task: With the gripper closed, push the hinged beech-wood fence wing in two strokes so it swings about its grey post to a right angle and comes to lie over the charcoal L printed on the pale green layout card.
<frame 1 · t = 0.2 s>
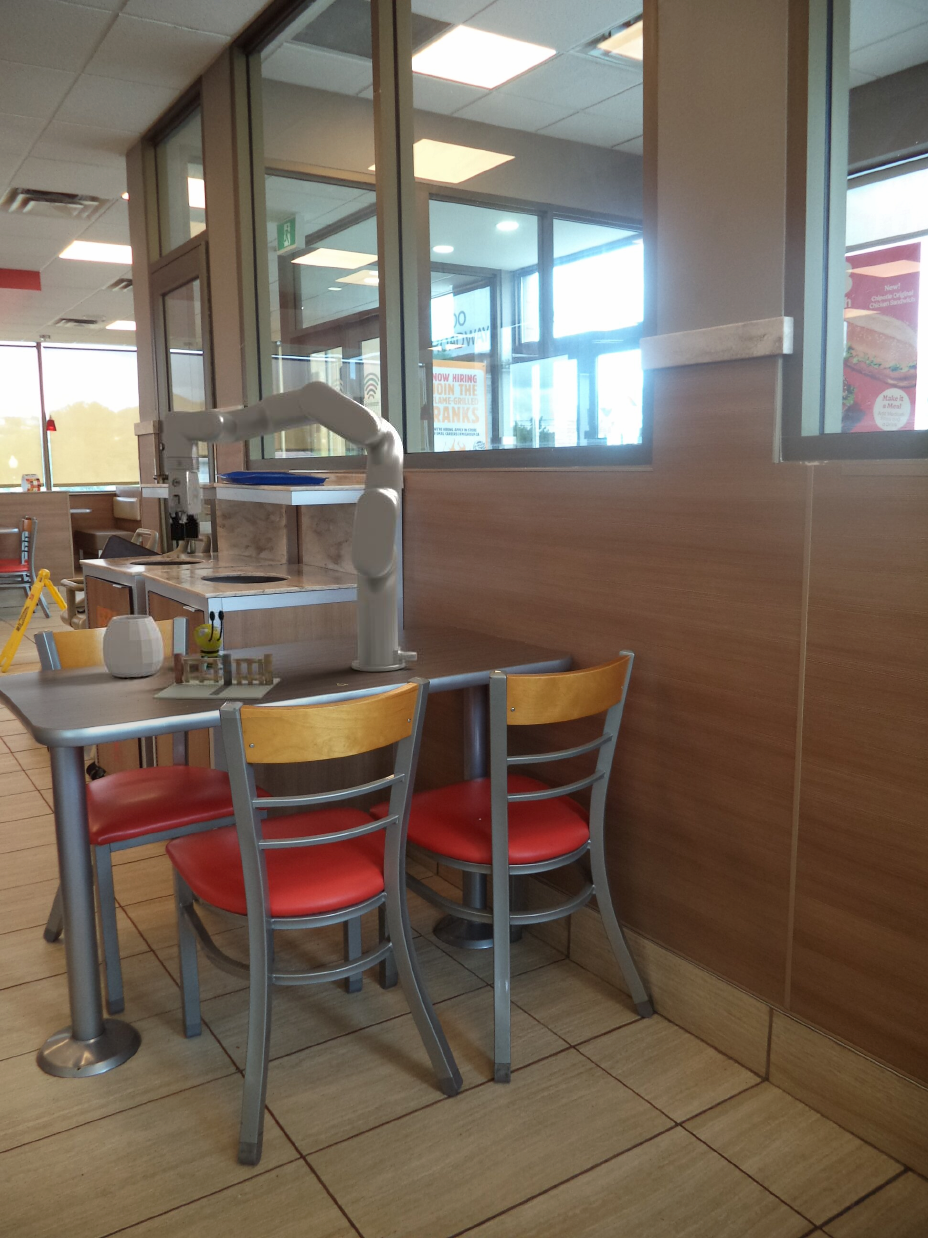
hand: (185, 539, 226), 31 cm above the table, fingers open, 9 cm apart
fence fixed: (228, 686, 209), resting on layout card
toy: (212, 668, 231), on the table
fence wing: (198, 668, 209), point 4 cm above the table, hinge at 0.0°
layout card: (219, 689, 206), on the table
white faceted vase: (134, 676, 222), on the table
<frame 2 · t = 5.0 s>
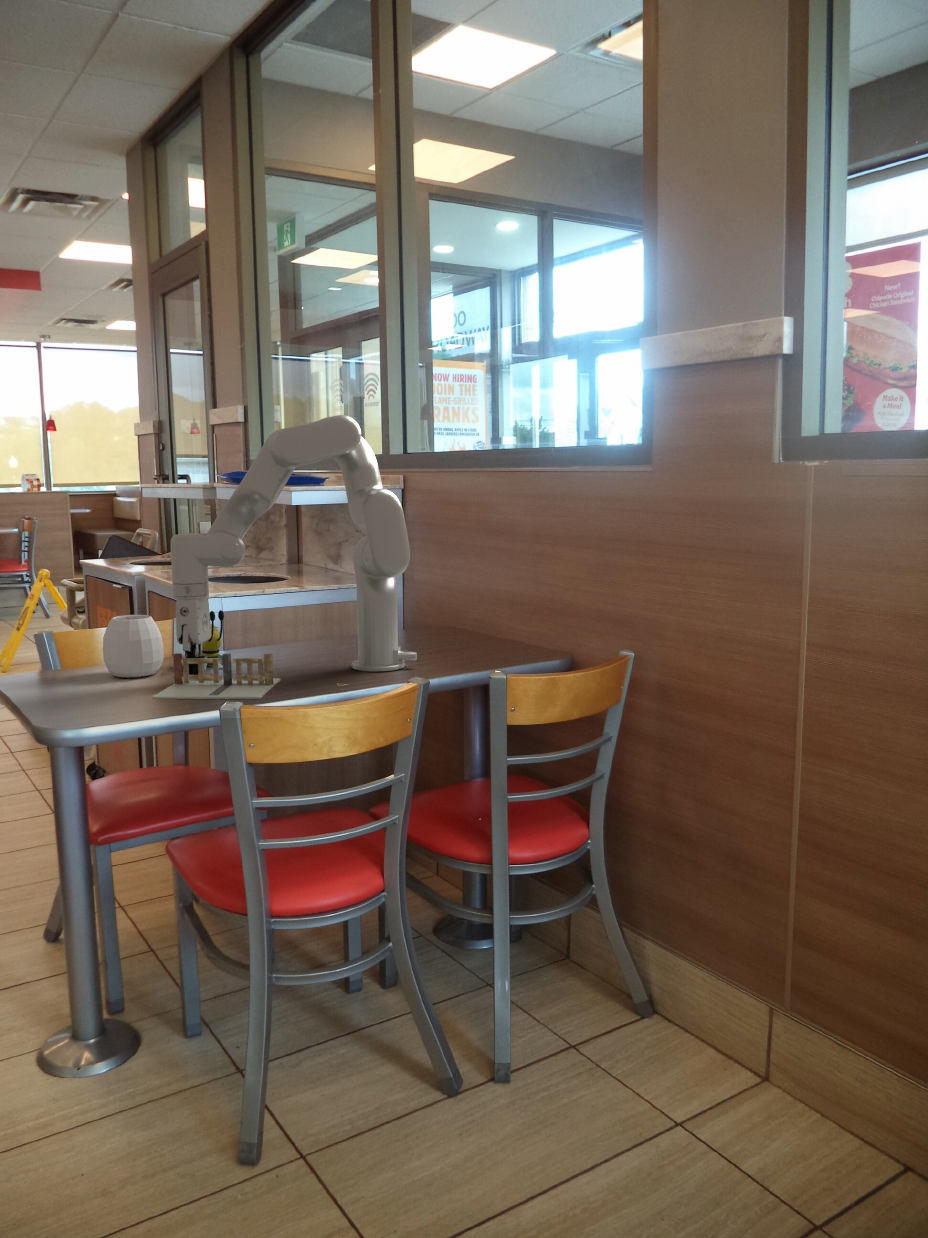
hand: (194, 674, 212), 2 cm above the table, fingers closed
fence wing: (197, 668, 209), point 4 cm above the table, hinge at 2.4°, touching gripper
everything else where it was.
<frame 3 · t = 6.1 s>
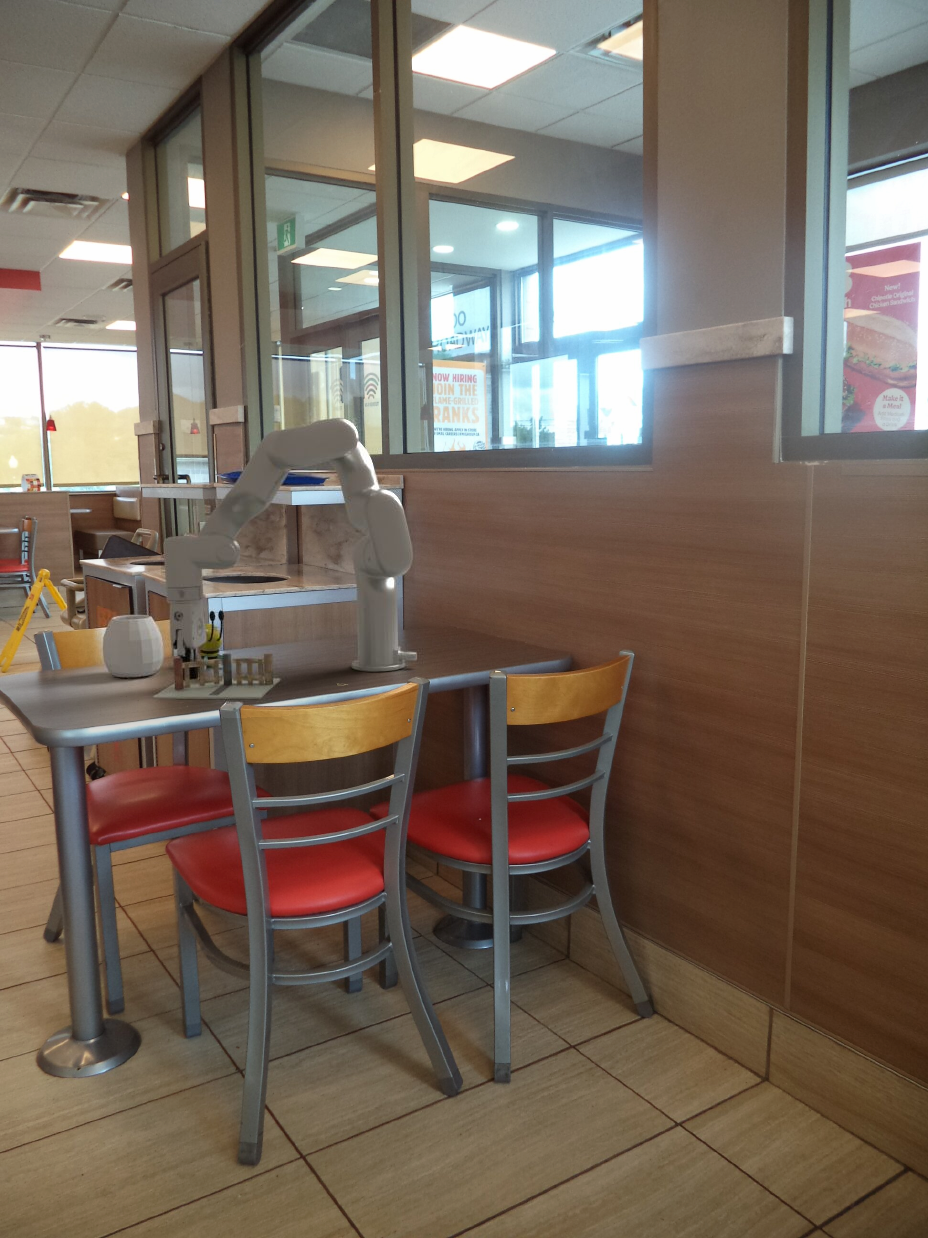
hand: (189, 679, 207), 2 cm above the table, fingers closed
fence wing: (198, 671, 205), point 4 cm above the table, hinge at 35.6°, touching gripper
everything else where it was.
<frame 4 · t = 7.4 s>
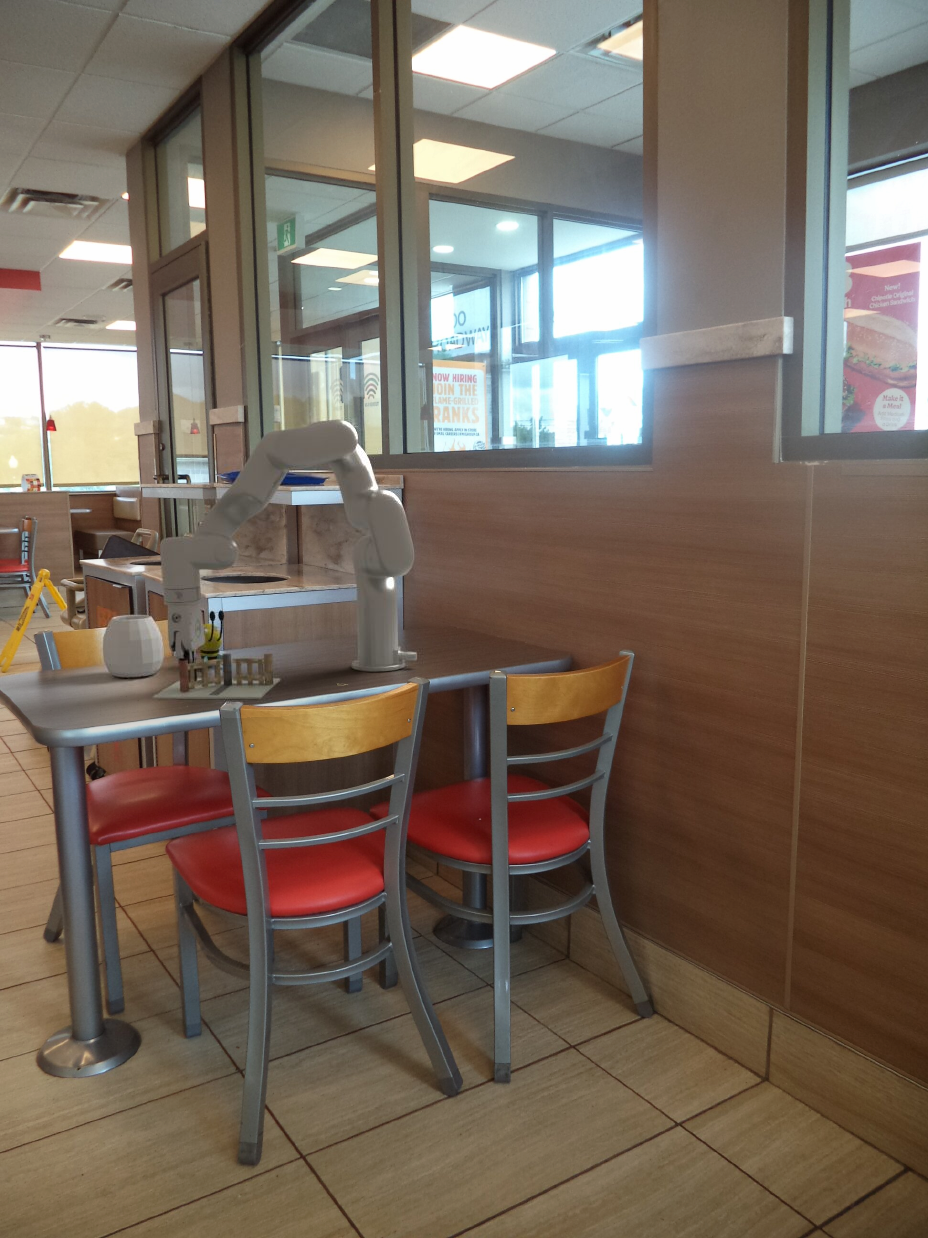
hand: (188, 681, 205), 2 cm above the table, fingers closed
fence wing: (201, 672, 204), point 4 cm above the table, hinge at 49.7°, touching gripper
everything else where it was.
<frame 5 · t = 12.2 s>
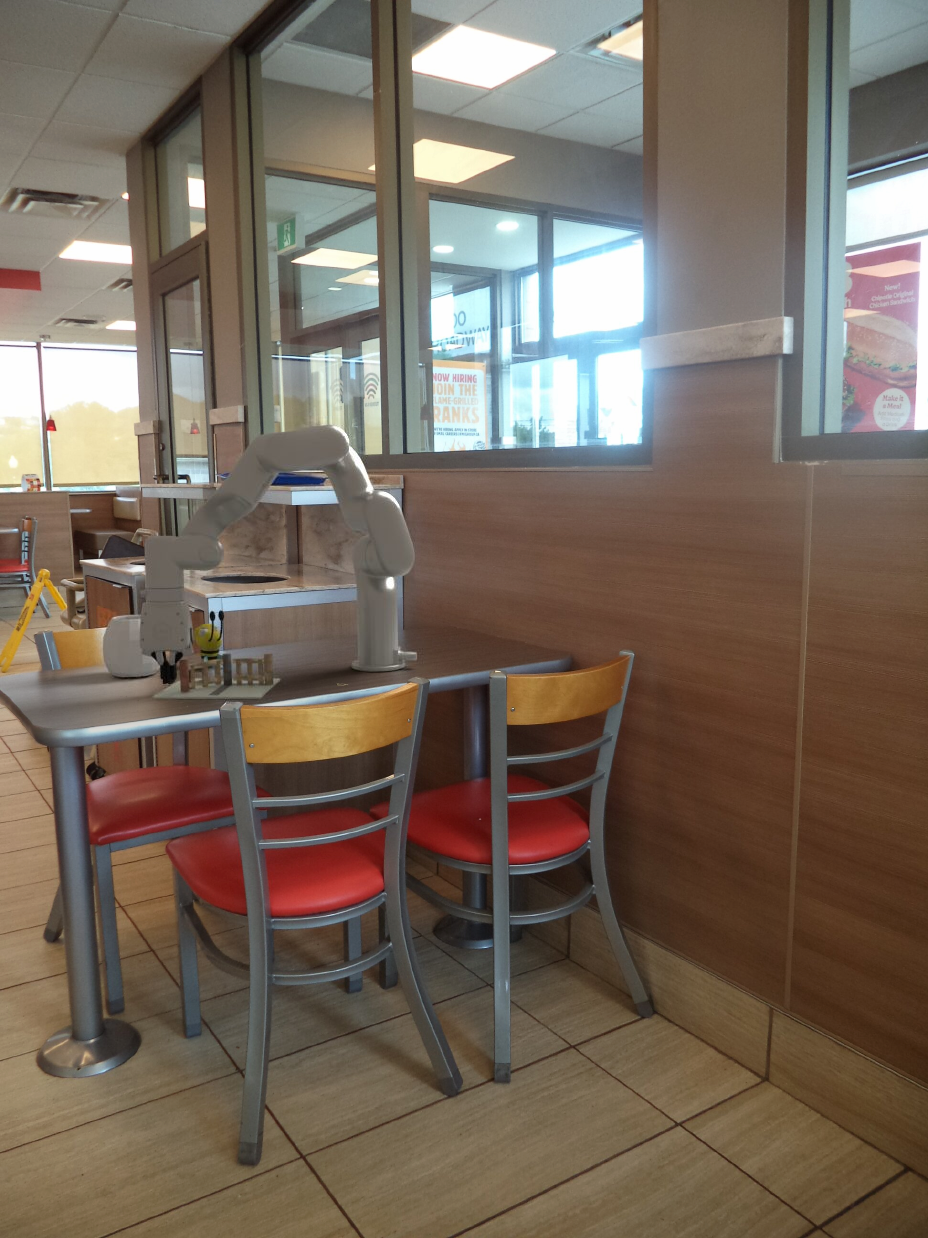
hand: (169, 682, 202), 2 cm above the table, fingers closed
fence wing: (201, 672, 204), point 4 cm above the table, hinge at 50.8°, touching gripper
everything else where it was.
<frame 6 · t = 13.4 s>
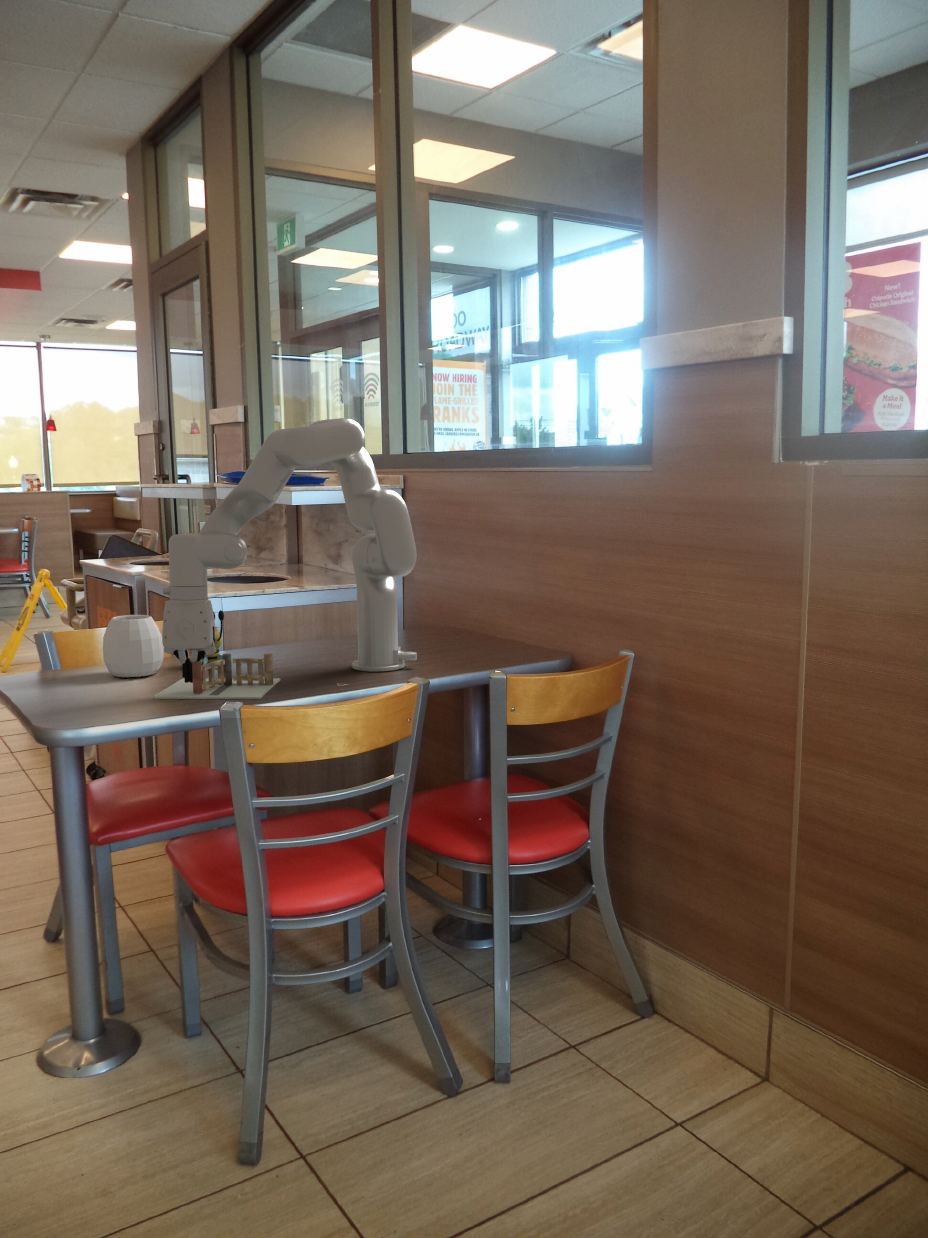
hand: (190, 681, 202), 3 cm above the table, fingers closed
fence wing: (209, 673, 203), point 4 cm above the table, hinge at 70.9°, touching gripper
everything else where it was.
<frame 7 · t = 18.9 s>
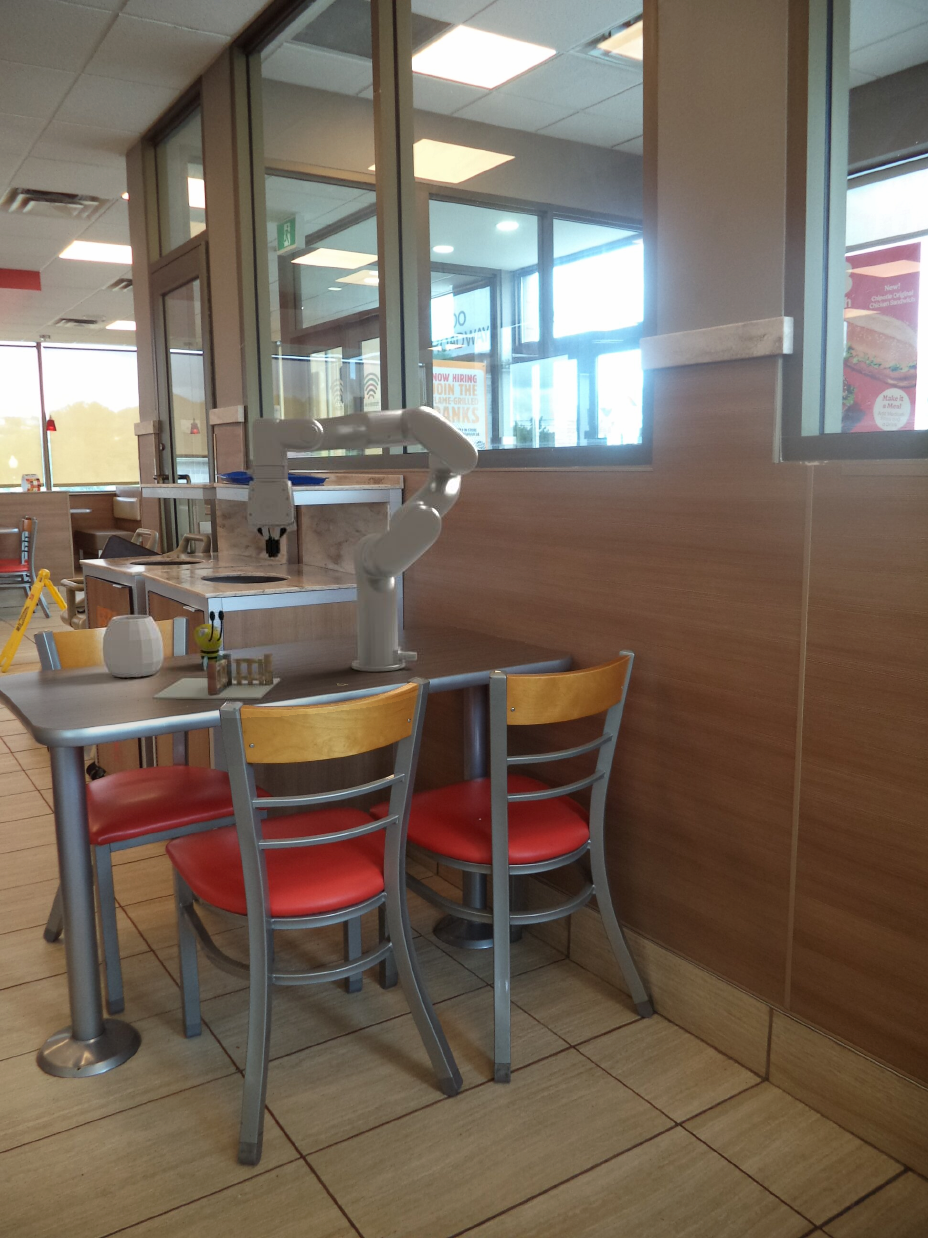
hand: (273, 556, 217), 27 cm above the table, fingers closed
fence wing: (218, 674, 202), point 4 cm above the table, hinge at 88.6°
everything else where it was.
at the end: fence wing at +89° (first picture: +0°); fence wing touching nothing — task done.
